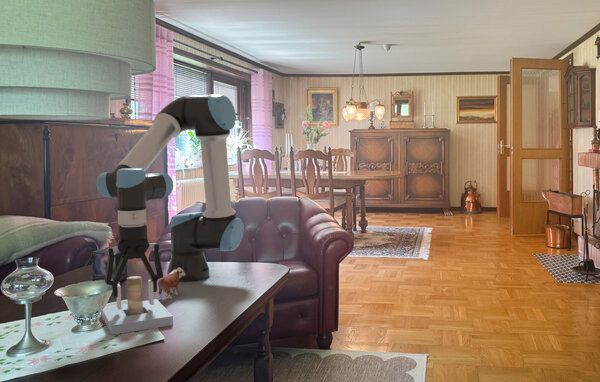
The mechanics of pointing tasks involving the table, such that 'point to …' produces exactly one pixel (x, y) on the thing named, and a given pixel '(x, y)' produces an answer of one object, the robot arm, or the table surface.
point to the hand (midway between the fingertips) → (135, 305)
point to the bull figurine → (170, 282)
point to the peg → (134, 295)
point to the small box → (101, 264)
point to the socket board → (136, 318)
